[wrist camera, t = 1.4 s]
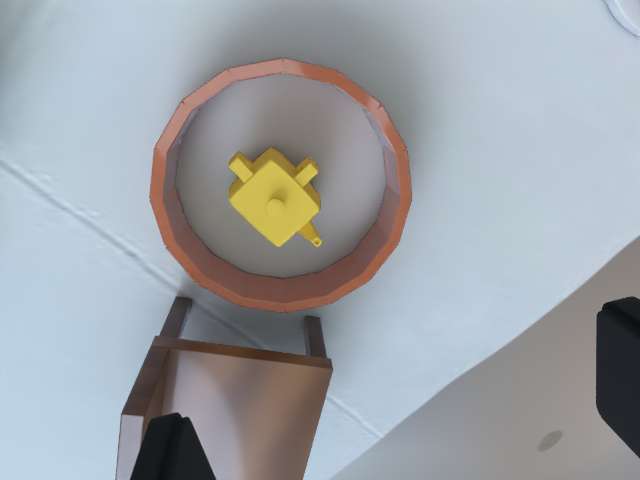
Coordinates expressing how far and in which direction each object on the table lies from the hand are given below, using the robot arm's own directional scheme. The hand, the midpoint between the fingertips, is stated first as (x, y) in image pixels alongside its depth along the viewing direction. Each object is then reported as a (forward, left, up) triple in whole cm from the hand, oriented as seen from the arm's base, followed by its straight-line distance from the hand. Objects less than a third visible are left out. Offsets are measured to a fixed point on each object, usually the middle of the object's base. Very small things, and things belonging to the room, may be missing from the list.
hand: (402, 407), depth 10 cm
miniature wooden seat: (+14, +11, -24) cm, 30 cm away
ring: (+2, 0, -24) cm, 24 cm away
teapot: (+2, 0, -25) cm, 25 cm away
